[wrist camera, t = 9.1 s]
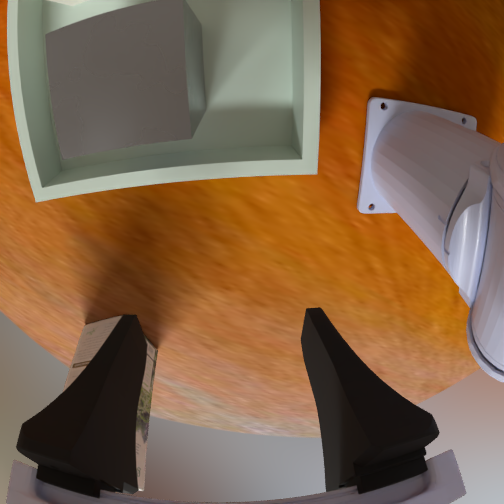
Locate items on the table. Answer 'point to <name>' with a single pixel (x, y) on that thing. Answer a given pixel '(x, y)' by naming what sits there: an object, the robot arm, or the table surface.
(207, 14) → the pale green tray
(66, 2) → the off-white block
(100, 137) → the tin
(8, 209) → the table surface
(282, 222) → the table surface
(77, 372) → the syrup box
